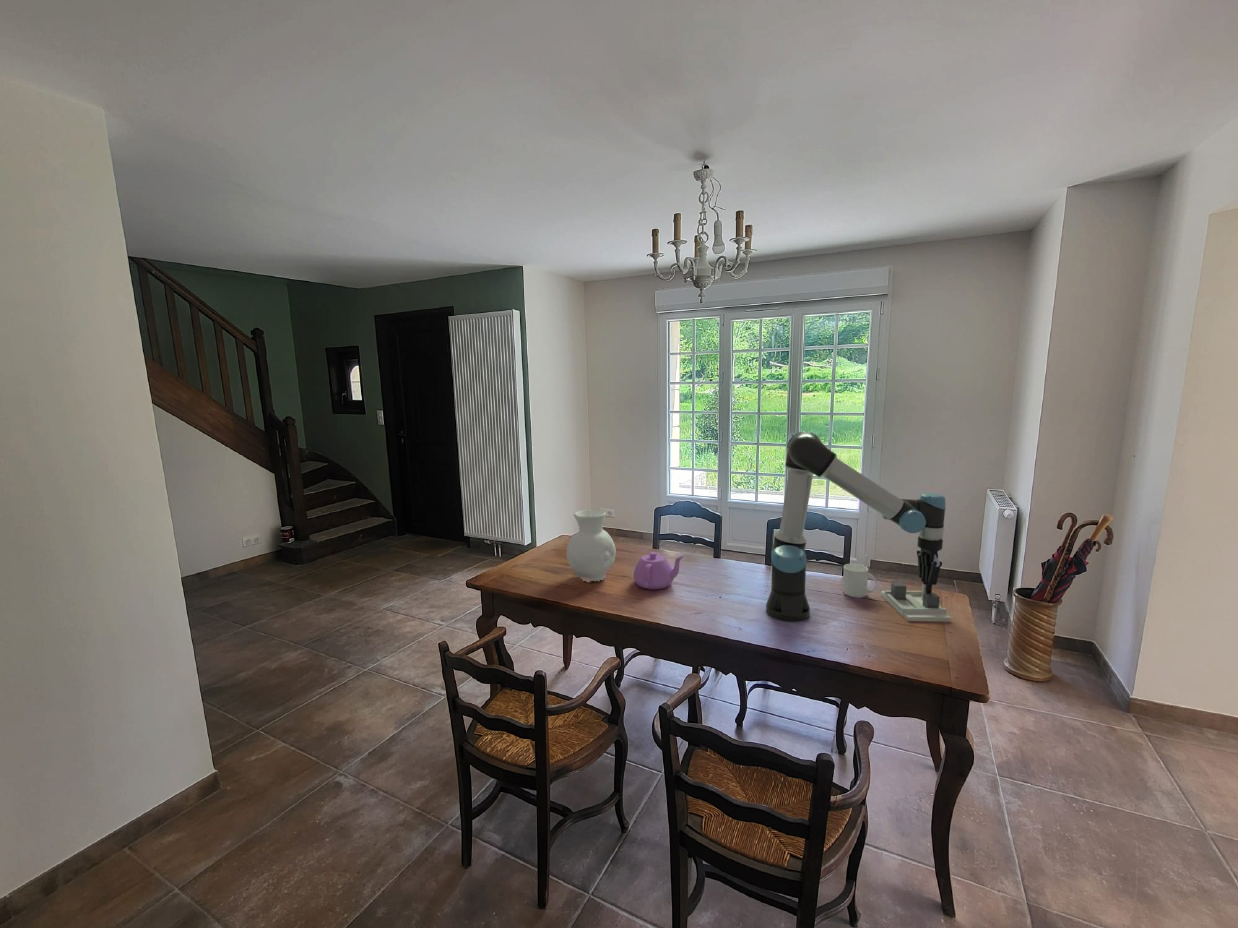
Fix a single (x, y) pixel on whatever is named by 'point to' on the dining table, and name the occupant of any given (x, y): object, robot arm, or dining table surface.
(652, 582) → the teapot
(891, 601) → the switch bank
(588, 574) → the vase
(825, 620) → the dining table surface
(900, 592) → the tab
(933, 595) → the tab
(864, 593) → the mug
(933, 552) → the robot arm
